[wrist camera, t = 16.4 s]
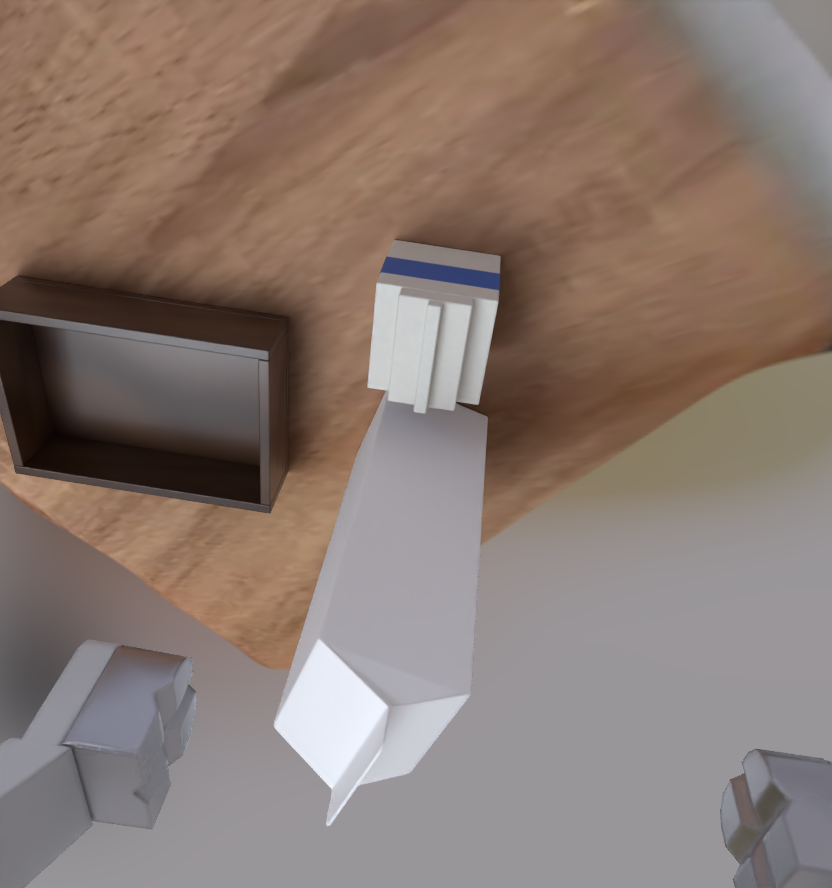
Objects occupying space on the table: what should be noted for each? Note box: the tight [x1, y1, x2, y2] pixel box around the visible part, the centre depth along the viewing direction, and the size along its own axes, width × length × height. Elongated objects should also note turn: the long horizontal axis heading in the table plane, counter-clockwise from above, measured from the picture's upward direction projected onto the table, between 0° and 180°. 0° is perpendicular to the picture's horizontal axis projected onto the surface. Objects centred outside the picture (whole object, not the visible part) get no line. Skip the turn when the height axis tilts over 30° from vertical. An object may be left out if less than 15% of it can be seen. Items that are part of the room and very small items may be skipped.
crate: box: [0, 276, 289, 513], centre depth 41 cm, size 11×15×4 cm
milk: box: [274, 391, 488, 826], centre depth 34 cm, size 6×6×22 cm
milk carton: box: [367, 240, 501, 414], centre depth 35 cm, size 5×6×7 cm
